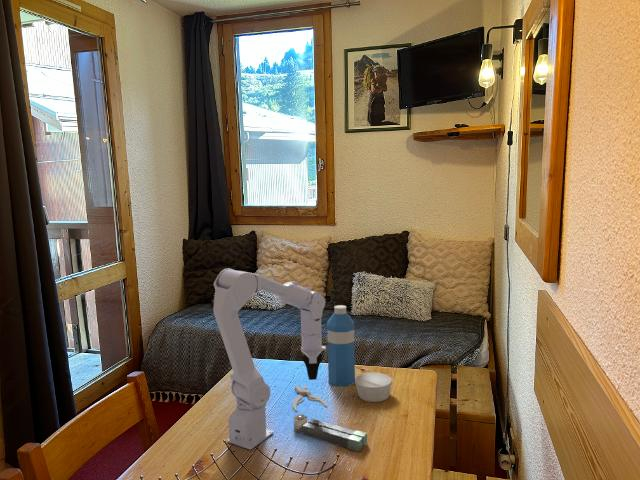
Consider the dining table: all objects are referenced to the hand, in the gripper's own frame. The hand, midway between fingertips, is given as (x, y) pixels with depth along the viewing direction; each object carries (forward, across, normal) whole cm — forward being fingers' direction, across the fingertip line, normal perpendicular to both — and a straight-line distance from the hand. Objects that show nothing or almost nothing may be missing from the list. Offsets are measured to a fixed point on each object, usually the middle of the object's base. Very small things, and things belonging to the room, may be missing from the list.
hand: (312, 378), depth 136 cm
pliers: (+10, +8, +2) cm, 13 cm away
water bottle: (+10, +20, -10) cm, 24 cm away
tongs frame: (+9, -16, -3) cm, 19 cm away
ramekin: (+10, +8, -19) cm, 22 cm away
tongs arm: (+9, -16, -5) cm, 19 cm away
